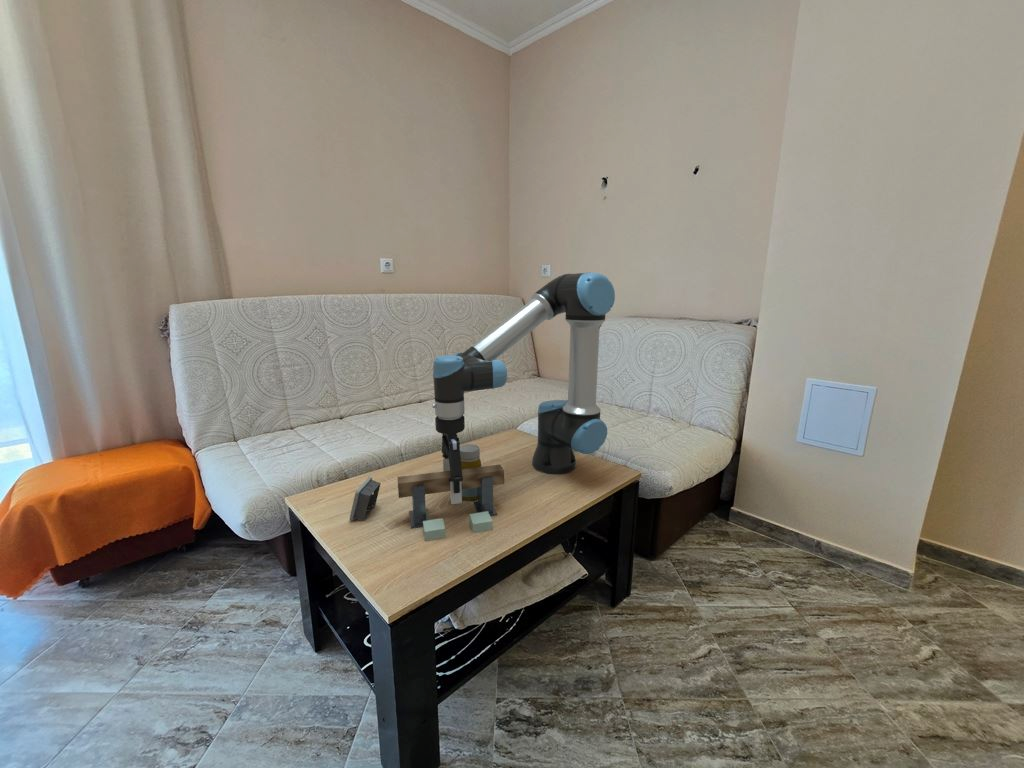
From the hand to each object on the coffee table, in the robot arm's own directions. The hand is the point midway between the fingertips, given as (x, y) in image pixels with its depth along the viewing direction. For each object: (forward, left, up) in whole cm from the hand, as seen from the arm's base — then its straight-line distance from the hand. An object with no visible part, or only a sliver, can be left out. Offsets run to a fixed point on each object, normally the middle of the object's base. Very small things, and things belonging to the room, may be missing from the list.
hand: (452, 491), depth 113 cm
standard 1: (+9, 0, -7) cm, 11 cm away
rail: (0, 0, +1) cm, 1 cm away
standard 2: (-9, 0, -7) cm, 11 cm away
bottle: (-7, -9, -7) cm, 13 cm away
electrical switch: (+23, -8, -7) cm, 25 cm away
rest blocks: (0, +8, -7) cm, 11 cm away
